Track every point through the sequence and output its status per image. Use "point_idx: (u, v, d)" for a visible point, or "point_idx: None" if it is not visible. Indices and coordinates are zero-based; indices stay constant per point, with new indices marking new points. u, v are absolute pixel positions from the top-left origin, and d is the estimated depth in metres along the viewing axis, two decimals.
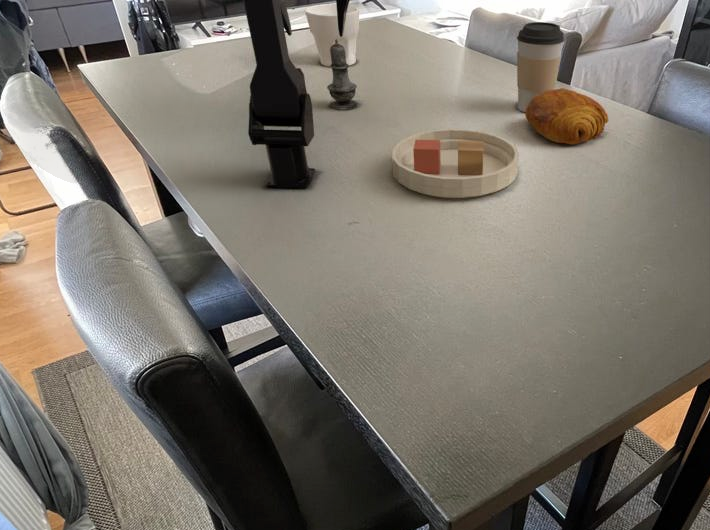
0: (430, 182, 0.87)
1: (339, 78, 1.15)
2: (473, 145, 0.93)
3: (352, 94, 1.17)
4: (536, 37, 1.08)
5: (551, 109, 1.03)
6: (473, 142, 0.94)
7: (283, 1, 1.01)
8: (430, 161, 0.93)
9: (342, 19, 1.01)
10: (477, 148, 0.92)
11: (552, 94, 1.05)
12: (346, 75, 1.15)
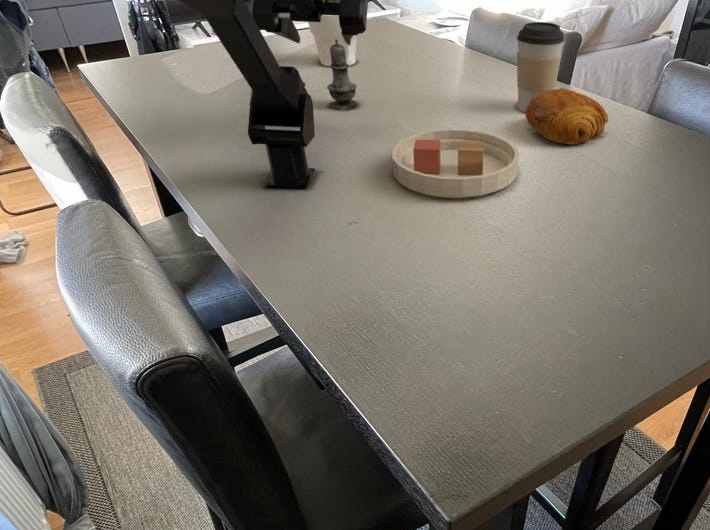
0: (430, 182, 0.87)
1: (339, 78, 1.15)
2: (473, 145, 0.93)
3: (352, 94, 1.17)
4: (536, 37, 1.08)
5: (551, 109, 1.03)
6: (473, 142, 0.94)
7: (288, 18, 1.00)
8: (430, 161, 0.93)
9: (349, 40, 1.01)
10: (477, 148, 0.92)
11: (552, 94, 1.05)
12: (346, 75, 1.15)
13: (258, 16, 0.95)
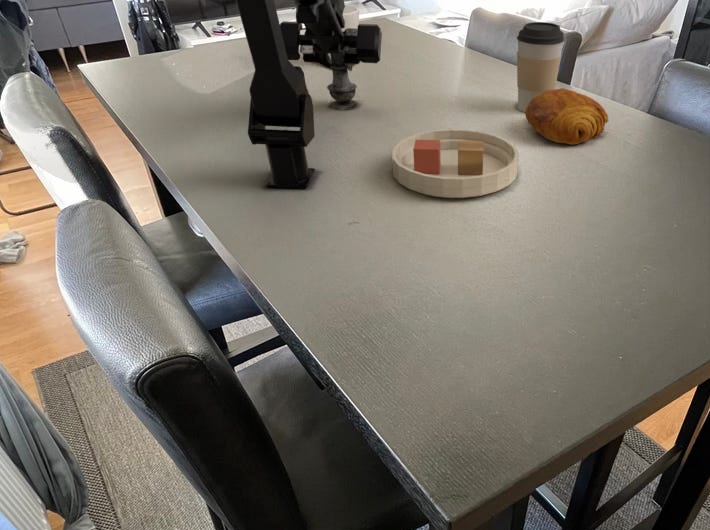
0: (430, 182, 0.87)
1: (339, 78, 1.15)
2: (473, 145, 0.93)
3: (352, 94, 1.17)
4: (536, 37, 1.08)
5: (551, 109, 1.03)
6: (473, 142, 0.94)
7: None
8: (430, 161, 0.93)
9: (351, 67, 1.13)
10: (477, 148, 0.92)
11: (552, 94, 1.05)
12: (346, 75, 1.15)
13: None
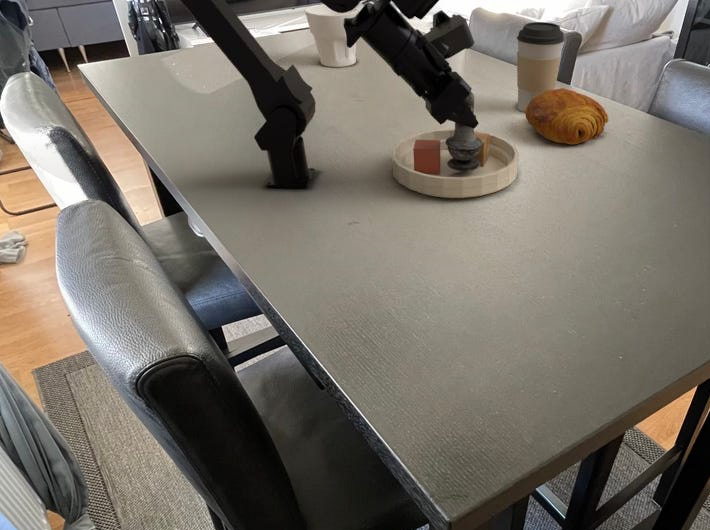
0: (430, 182, 0.87)
1: (455, 130, 0.90)
2: (477, 136, 0.95)
3: (461, 154, 0.91)
4: (536, 37, 1.08)
5: (551, 109, 1.03)
6: (479, 133, 0.96)
7: None
8: (430, 161, 0.93)
9: (457, 122, 0.87)
10: None
11: (552, 94, 1.05)
12: (463, 130, 0.89)
13: None
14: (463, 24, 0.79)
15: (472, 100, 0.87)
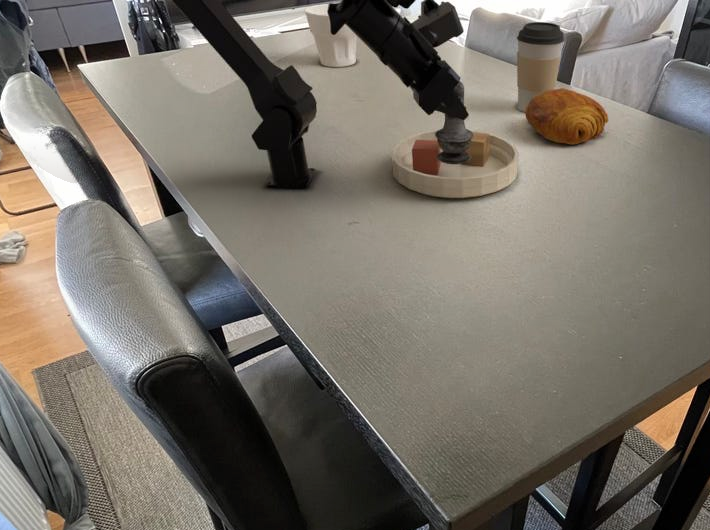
0: (430, 182, 0.87)
1: (445, 122, 0.87)
2: (477, 136, 0.95)
3: (451, 147, 0.88)
4: (536, 37, 1.08)
5: (551, 109, 1.03)
6: (479, 133, 0.96)
7: None
8: (429, 161, 0.92)
9: (446, 113, 0.84)
10: (479, 140, 0.94)
11: (552, 94, 1.05)
12: (453, 122, 0.87)
13: None
14: (452, 11, 0.76)
15: (462, 91, 0.84)
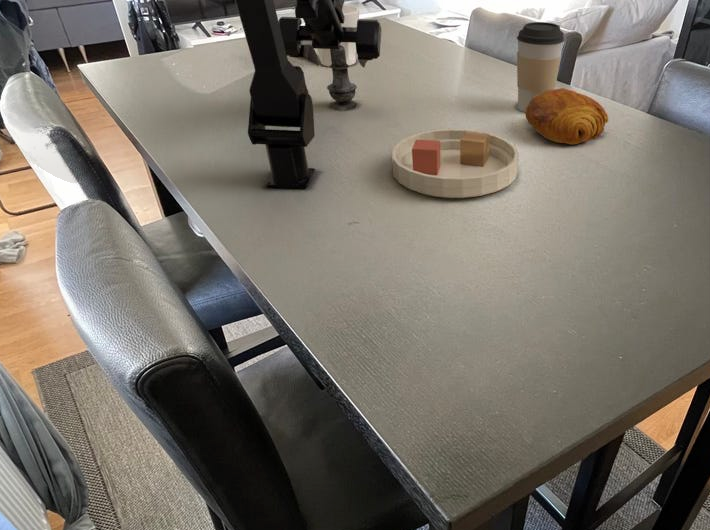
0: (430, 182, 0.87)
1: (339, 78, 1.14)
2: (477, 136, 0.95)
3: (352, 94, 1.17)
4: (536, 37, 1.08)
5: (551, 109, 1.03)
6: (479, 133, 0.96)
7: None
8: (429, 161, 0.92)
9: (364, 64, 1.12)
10: (479, 140, 0.94)
11: (552, 94, 1.05)
12: (346, 75, 1.15)
13: (283, 44, 1.06)
14: None
15: None
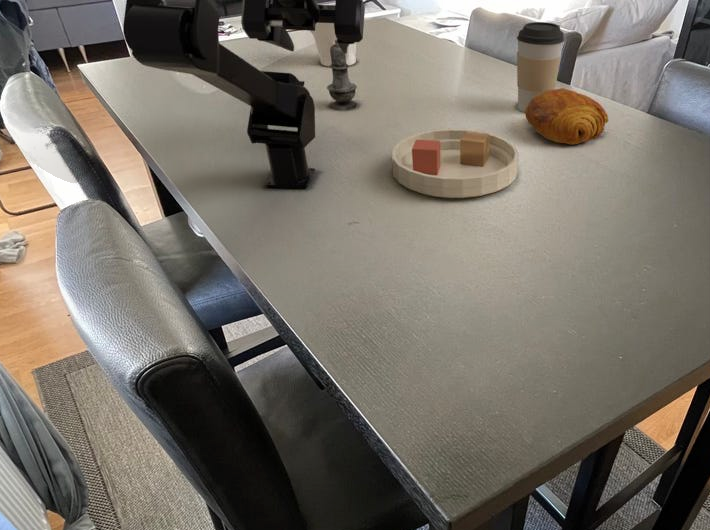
0: (430, 182, 0.87)
1: (339, 78, 1.14)
2: (477, 136, 0.95)
3: (352, 94, 1.17)
4: (536, 37, 1.08)
5: (551, 109, 1.03)
6: (479, 133, 0.96)
7: None
8: (429, 161, 0.92)
9: (345, 49, 0.96)
10: (479, 140, 0.94)
11: (552, 94, 1.05)
12: (346, 75, 1.15)
13: (249, 24, 0.90)
14: None
15: None
